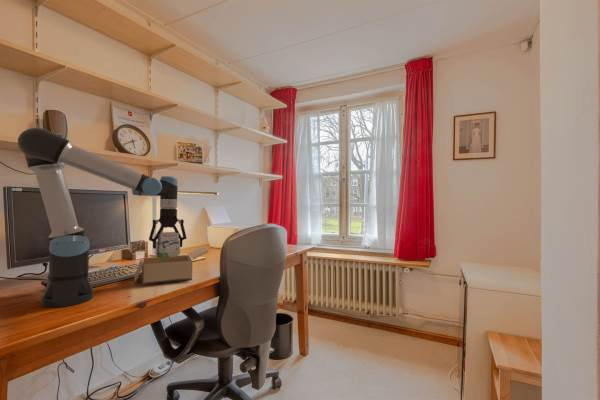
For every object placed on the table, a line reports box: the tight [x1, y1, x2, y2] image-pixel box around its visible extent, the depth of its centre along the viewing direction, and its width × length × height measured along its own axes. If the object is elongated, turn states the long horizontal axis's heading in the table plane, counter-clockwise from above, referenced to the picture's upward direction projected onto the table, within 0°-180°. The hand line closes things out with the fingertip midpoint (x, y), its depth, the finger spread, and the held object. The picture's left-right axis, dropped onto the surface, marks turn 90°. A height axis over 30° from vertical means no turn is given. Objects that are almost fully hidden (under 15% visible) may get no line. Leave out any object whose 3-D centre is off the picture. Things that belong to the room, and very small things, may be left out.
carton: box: [134, 254, 193, 286], centre depth 141 cm, size 24×21×9 cm
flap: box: [188, 245, 209, 261], centre depth 148 cm, size 1×14×8 cm
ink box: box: [156, 231, 180, 258], centre depth 141 cm, size 9×5×12 cm, turn 134°
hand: (167, 254), depth 141 cm, fingers closed on ink box, 9 cm apart
